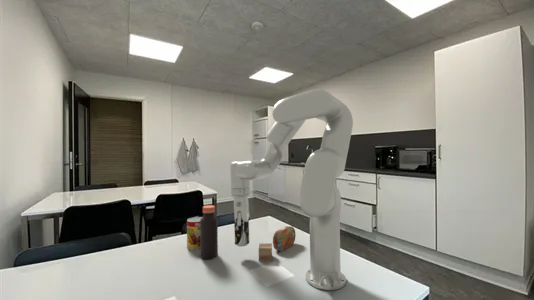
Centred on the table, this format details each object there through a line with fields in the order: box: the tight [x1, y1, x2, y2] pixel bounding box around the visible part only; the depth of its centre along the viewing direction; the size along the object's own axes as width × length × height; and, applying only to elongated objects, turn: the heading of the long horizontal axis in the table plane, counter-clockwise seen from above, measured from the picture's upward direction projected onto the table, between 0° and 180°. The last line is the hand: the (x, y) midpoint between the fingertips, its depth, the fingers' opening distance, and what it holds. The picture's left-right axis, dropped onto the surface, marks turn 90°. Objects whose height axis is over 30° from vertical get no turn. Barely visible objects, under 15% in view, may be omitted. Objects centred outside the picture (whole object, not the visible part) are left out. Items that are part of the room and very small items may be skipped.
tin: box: [272, 226, 296, 252], centre depth 103 cm, size 15×3×8 cm, turn 143°
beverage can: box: [233, 217, 250, 247], centre depth 94 cm, size 6×6×12 cm
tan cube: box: [258, 242, 273, 262], centre depth 92 cm, size 5×5×5 cm
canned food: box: [186, 216, 203, 250], centre depth 106 cm, size 8×8×12 cm
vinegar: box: [199, 204, 219, 260], centre depth 95 cm, size 7×7×20 cm
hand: (242, 237), depth 93 cm, fingers closed on beverage can, 3 cm apart
